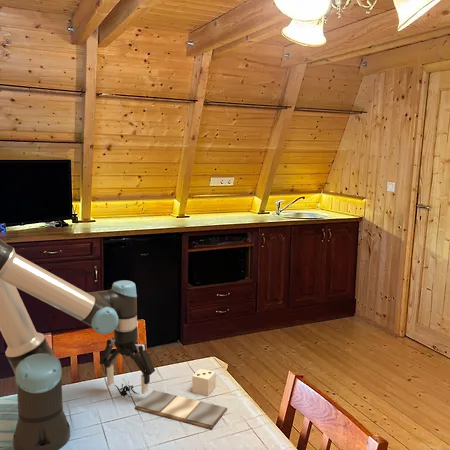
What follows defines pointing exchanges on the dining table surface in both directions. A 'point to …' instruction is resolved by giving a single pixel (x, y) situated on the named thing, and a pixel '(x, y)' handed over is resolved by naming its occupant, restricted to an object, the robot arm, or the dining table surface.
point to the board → (182, 409)
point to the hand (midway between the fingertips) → (127, 388)
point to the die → (203, 382)
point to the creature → (126, 390)
